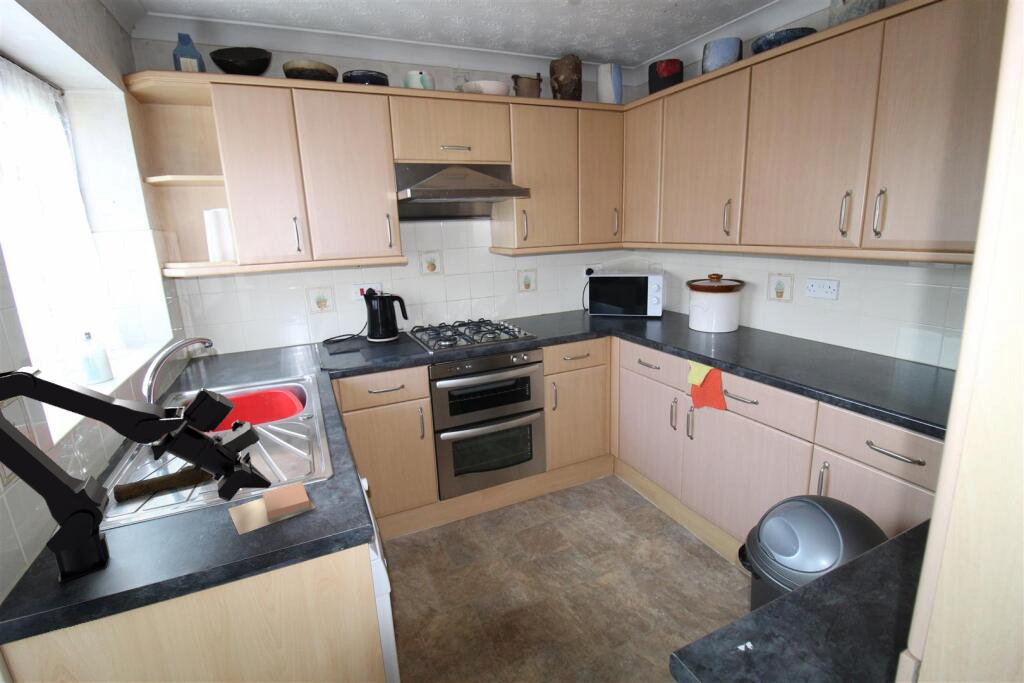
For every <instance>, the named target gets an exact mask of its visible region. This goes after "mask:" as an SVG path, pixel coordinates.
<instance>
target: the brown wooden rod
mask: <svg viewBox="0 0 1024 683" xmlns="http://www.w3.org/2000/svg"><path fill="white" fill-rule="evenodd" d="M211 479H213V474H211V473H209V472H207V471H205V470H203V469H201V468H200V470H199V471H196V470H194V469H193V465H192V464H191V465H187V466H183V467H181V469H180V471H176V472H172V473H168V474H164V475H159V476H155V477H154V476H153V477H152V478H147V479H140V480H136V481H133V482H132V481H131V482H128V483H124V484H115V485H114V486H113V487H112V490H113V498H114V500H115V502H116V503H117V502H119V501H120V502H122V501H124V502H126V501H128V499H132V498H136V497H139V496H144V495H148V494H152V493H156V492H161V491H165V490H168V489H172V488H176V487H182V486H184V487H185V488H188V487H190V486H195V485H197V484H200V483H204V482H206V481H209V480H211ZM120 502H119V503H120Z"/></svg>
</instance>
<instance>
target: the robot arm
mask: <svg viewBox="0 0 1024 683" xmlns="http://www.w3.org/2000/svg"><path fill="white" fill-rule="evenodd" d="M20 396H21V397H26V398H29V399H32V400H34V401H37V402H39V403H43V404H46V405H50V406H52V407H56V408H58V409H61V410H65V411H67V412H71V413H73V414H77V415H80V416H83V417H85V418H88V419H92V420H95V421H97V422H100V423H103V424H105V425H106V426H108V427H110V428H111V429H112V430H113V431H114V432H116V433H117V434H119V435H121V436H123V437H125V438H126V439H128V440H130V441H132V442H134V443H137V444H139V445H141V444H142V445H149V444H150V449H151V451H152V453H153V460H154V461H158V460H160V459H161V457H162V456H163V455H164V454H165V453H168V454H170V455H172V456H174V457H176V458H178V459H180V460H183V461H184V462H187V463H189V464H191V465H193V469H194V470H196V471H199V470H200V468H201V469H203V470H205V471H207V472H209V473H211V474H213V478H212V479H213V480H215V481H219V482H218V483H217V494H218V498H219V499H222V500H223V501H226V502H230V501H231V500H232V499H233V498H234V497H235V495H236V494H237V493H238V492H239V491H240V489H269V488H270V487H271V485H272V482H271V481H270V479H268V478H267V477H266V476H265V475H264V474H263V473H262V472H261V471H260V470H258V468H256V467H255V465H254V464H253V463H252V459H251V458H252V457H251V453H250V452H249V451H248V452H246V454H245V455H244V456H242V455H241V456H240V454H239V453H241V452H242V451H244V450H246V449H247V448H249V447H251V446H253V445H255V444H256V443H258V442H259V441H260V436H259V435H260V434H259V432H258V431H257V430H256V429H255V427H254V426H253V424H252V423H251V422H249V421H242V420H240V419H237V420H235V421H234V422H232V423H231V430H232V431H230V432H228V434H227V435H225V436H224V437H221V436H219V435H213V437H211V436H210V435H208V434H205V433H210V432H211V431H214V432H215V431H216V430H217V429H218V428H219V426H220V425H222V423H223V422H224V421H225V419H226V418H227V417H228V416H229V415H230V414H231V412H232V411H233V410H234V409H235V408H236V405H235V403H233V401H232V400H230V399H229V398H227V397H226V396H225V395H224V394H223V395H222V394H221V393H219V392H218V393H217V392H215V391H212V390H207V389H206V388H205V387H201V388H200V389H199V390H198V391H197V393H196V395H195V396H194V398H192V400H191V401H190V402H189V404H187V405H186V406H170V407H169V406H168V407H163V406H161V405H159V404H154V403H149V402H146V401H140V400H129V399H121V398H117V397H113V396H110V395H107V394H104V393H102V392H99V391H96V390H94V389H91V388H88V387H85V386H83V385H79V384H77V383H74V382H71V381H68V380H66V379H63V378H60V377H58V376H55V375H52V374H49V373H47V372H43V371H42V370H40V369H39V368H36V367H34V366H22V367H19V368H17V369H12V370H8V371H7V370H6V371H2V372H0V402H3V401H5V400H6V401H7V400H9V399H12V398H13V399H14V398H17V397H20ZM160 439H161V440H160ZM0 463H1V464H3V466H5V467H6V468H7V469H8V470H9V471H11V472H12V473H13V474H14V475H15V476H16V477H17V478H19V479H20V480H22V481H23V483H25V485H28V486H29V487H30V488H31V489H32V490H33V491H34V492H36V493H37V494H38V495H39V496H41V497H42V499H43V500H44V501H45V504H46V506H47V508H48V510H49V513H50V516H51V518H52V519H53V520H54V521H55V522H56V525H55V527H54V529H53V530H52V533H50V536H49V538H48V539H47V541H46V544H45V546H46V547H47V548H48V549H49V550H50V551H51V552H52V553H53V555H54V558H55V559H54V560H55V563H56V566H57V569H58V573H59V574H58V575H59V576H58V583H59V584H61V583H65V582H69V581H70V580H74V579H77V578H80V577H83V576H85V575H89V574H92V573H95V572H97V571H100V570H103V569H106V567H108V560H109V559H110V557H111V556H110V547H109V542H108V538H107V535H106V534H107V533H106V532H101V527H100V525H101V524H102V522H103V520H104V517H105V516H106V512H107V510H108V507H109V503H110V498H109V494H108V493H107V492H108V490H109V488H107V487H105V486H102V485H101V484H99V483H98V481H97V480H96V478H95V477H94V476H93V475H89V476H87V478H85V479H84V480H83V479H79V478H76V477H74V476H72V475H70V474H69V473H68V472H66V471H65V470H64V469H63V468H62V467H61V466H60V465H59V464H57V462H55V461H54V460H53V459H52V458H50V456H49V455H47V454H46V453H45V452H44V451H43V450H42V449H40V448H39V447H38V446H37V445H36V444H35V443H34V442H33V441H32V440H30V438H28V437H27V436H26V435H25V434H23V432H21V431H20V430H19V429H18V428H17V427H16V426H15V425H13V424H12V423H11V422H10V421H9V420H8V419H7V418H6V417H5V416H4V414H3V412H2V409H1V408H0Z"/></svg>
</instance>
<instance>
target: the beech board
mask: <svg viewBox="0 0 1024 683" xmlns="http://www.w3.org/2000/svg"><path fill="white" fill-rule="evenodd" d="M308 499H309V505H310V509H309V510H305V511H301V512H298V513H294V514H291V515H287V516H284V517H280V518H277V519H273V520H270V521H268V519H267V513H266V508H265V502H264V497H261V498H258V499H254V500H252V501H248V502H245V503H243V504H240V505H236V506H234V507H230V508H228V509H227V510H228V512H229V515H230V517H231V520H232V521H233V523H234V526H235V528H236V530H237V533H238V535H239V536H241V535H243V534H246V533H249V532H252V531H254V530H259V529H260V528H264V527H266V526H268V525H271V524H274V523H278V522H280V521H283V520H286V519H289V518H291V517H295V516H297V515H300V514H304V513H305V512H309V511H311V510H315V509H317V508H316V506H315V504H314V503H313V502H312V501H311V499H310V498H309V497H308Z"/></svg>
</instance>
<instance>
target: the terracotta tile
mask: <svg viewBox="0 0 1024 683" xmlns="http://www.w3.org/2000/svg"><path fill="white" fill-rule="evenodd" d="M262 495H263V498H264V502H265V508H266V513H267V519H268V521H270V520H273V519H277V518H280V517H284V516H287V515H291V514H294V513H298V512H301V511H305V510H309V509H310V505H309V499H310V498H309V496H308V494H307V491H306V488H305V486H304V483H303V482H300V483H295V484H292V485H291V484H290V485H288V486H284V487H280V488H276V489H273V490H267V491H264V492H262ZM308 498H309V499H308ZM309 511H310V510H309Z"/></svg>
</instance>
